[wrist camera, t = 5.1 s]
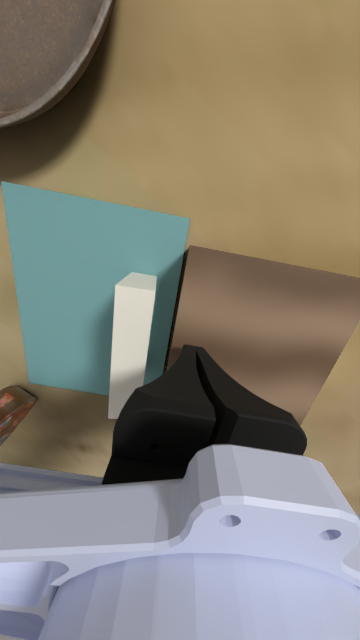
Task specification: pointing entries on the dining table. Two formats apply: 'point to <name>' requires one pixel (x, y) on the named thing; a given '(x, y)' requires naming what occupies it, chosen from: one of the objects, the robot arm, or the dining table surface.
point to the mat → (86, 281)
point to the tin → (13, 409)
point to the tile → (130, 337)
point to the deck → (266, 323)
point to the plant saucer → (45, 52)
